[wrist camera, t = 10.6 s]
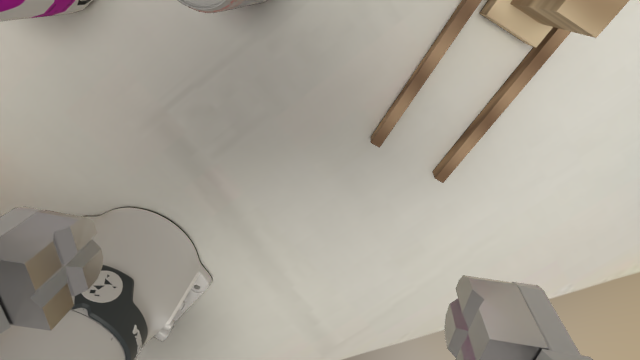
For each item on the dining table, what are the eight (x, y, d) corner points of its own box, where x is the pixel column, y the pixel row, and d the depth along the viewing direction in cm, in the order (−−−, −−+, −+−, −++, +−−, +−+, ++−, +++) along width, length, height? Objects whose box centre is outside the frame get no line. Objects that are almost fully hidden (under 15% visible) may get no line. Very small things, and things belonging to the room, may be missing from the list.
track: (440, 176, 38) (443, 182, 37) (370, 137, 37) (370, 142, 36) (666, -96, 26) (681, -100, 25) (573, -167, 25) (584, -175, 24)
